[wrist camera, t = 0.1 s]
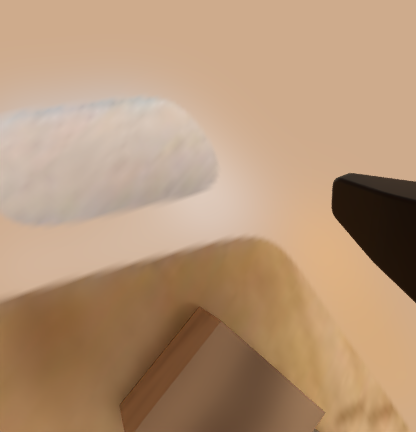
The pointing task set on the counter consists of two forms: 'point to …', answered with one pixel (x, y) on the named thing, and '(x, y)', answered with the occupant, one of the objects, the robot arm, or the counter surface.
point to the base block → (215, 387)
